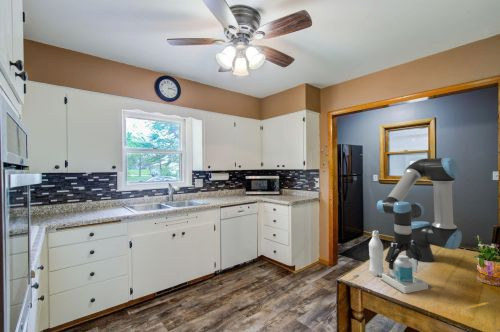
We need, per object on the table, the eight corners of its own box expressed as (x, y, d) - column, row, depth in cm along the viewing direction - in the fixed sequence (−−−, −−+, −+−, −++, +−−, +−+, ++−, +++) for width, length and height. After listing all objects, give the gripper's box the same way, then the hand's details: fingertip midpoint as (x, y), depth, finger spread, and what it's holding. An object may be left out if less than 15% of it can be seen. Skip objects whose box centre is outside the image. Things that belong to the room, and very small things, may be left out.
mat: (407, 276, 129) (407, 274, 129) (432, 289, 116) (432, 287, 116) (380, 281, 125) (380, 279, 125) (403, 295, 111) (403, 293, 111)
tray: (403, 275, 128) (403, 270, 128) (428, 288, 115) (427, 282, 115) (381, 279, 125) (381, 273, 125) (404, 293, 112) (404, 287, 112)
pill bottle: (416, 284, 118) (415, 257, 118) (407, 288, 115) (406, 260, 115) (401, 277, 125) (400, 252, 125) (392, 281, 122) (391, 255, 122)
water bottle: (366, 272, 135) (365, 229, 134) (378, 271, 135) (377, 228, 135) (374, 278, 128) (373, 233, 127) (386, 277, 128) (385, 232, 128)
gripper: (415, 228, 126) (416, 267, 126) (376, 232, 120) (377, 273, 121) (429, 232, 119) (430, 273, 119) (388, 237, 113) (389, 280, 113)
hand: (403, 273), depth 120 cm, fingers open, 13 cm apart
